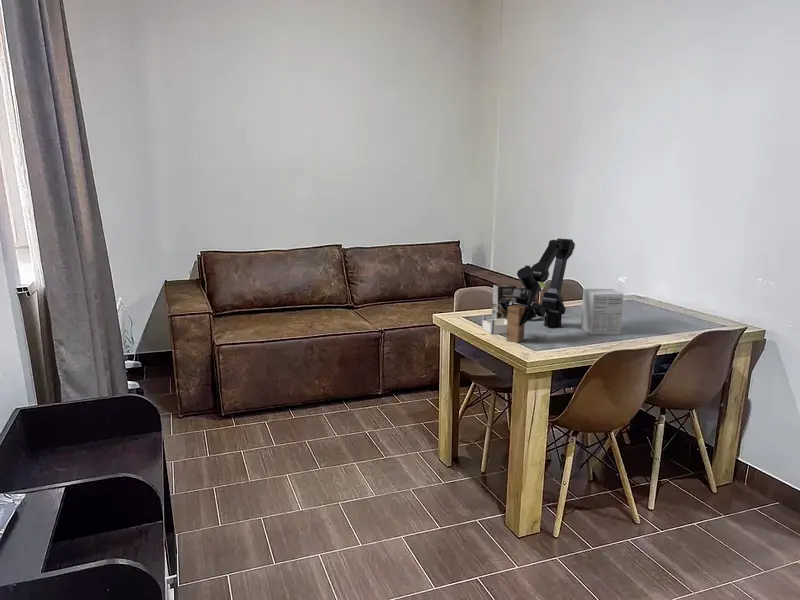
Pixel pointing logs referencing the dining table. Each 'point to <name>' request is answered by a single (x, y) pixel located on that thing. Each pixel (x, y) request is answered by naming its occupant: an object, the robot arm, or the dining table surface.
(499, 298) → the coffee box
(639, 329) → the dining table surface
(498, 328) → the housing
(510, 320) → the brown block
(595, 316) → the supplement box
